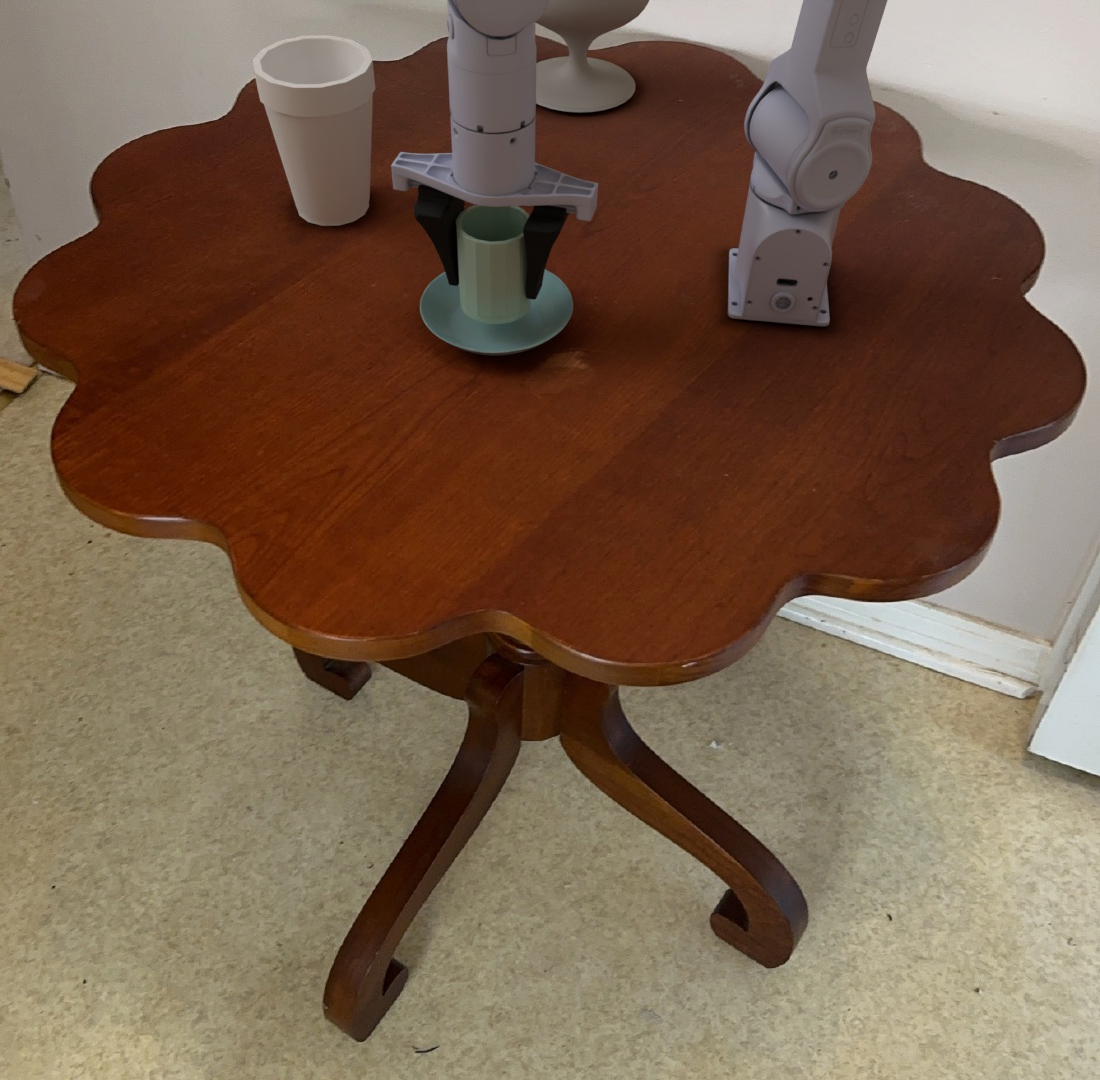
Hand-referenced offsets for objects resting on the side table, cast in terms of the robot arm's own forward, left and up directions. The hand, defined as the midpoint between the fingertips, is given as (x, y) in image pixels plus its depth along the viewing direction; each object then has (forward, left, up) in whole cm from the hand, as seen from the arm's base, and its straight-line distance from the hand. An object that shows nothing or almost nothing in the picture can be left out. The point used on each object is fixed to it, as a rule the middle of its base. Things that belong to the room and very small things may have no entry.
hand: (495, 285), depth 83 cm
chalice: (+41, -2, -4) cm, 41 cm away
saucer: (0, 0, -4) cm, 4 cm away
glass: (0, 0, -2) cm, 2 cm away
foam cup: (+15, +17, -4) cm, 23 cm away
